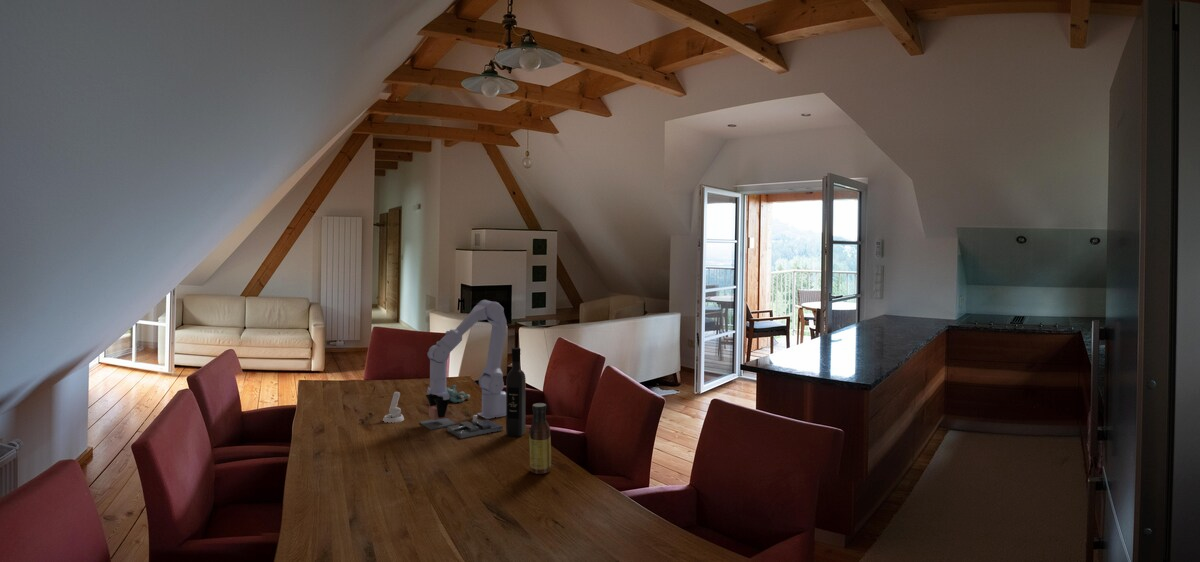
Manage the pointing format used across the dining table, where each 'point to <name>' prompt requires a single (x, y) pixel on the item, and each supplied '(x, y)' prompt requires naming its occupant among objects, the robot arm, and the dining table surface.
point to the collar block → (435, 413)
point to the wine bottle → (515, 397)
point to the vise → (474, 428)
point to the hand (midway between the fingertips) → (438, 415)
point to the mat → (438, 423)
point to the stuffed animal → (456, 394)
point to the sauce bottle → (539, 441)
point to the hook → (394, 410)
